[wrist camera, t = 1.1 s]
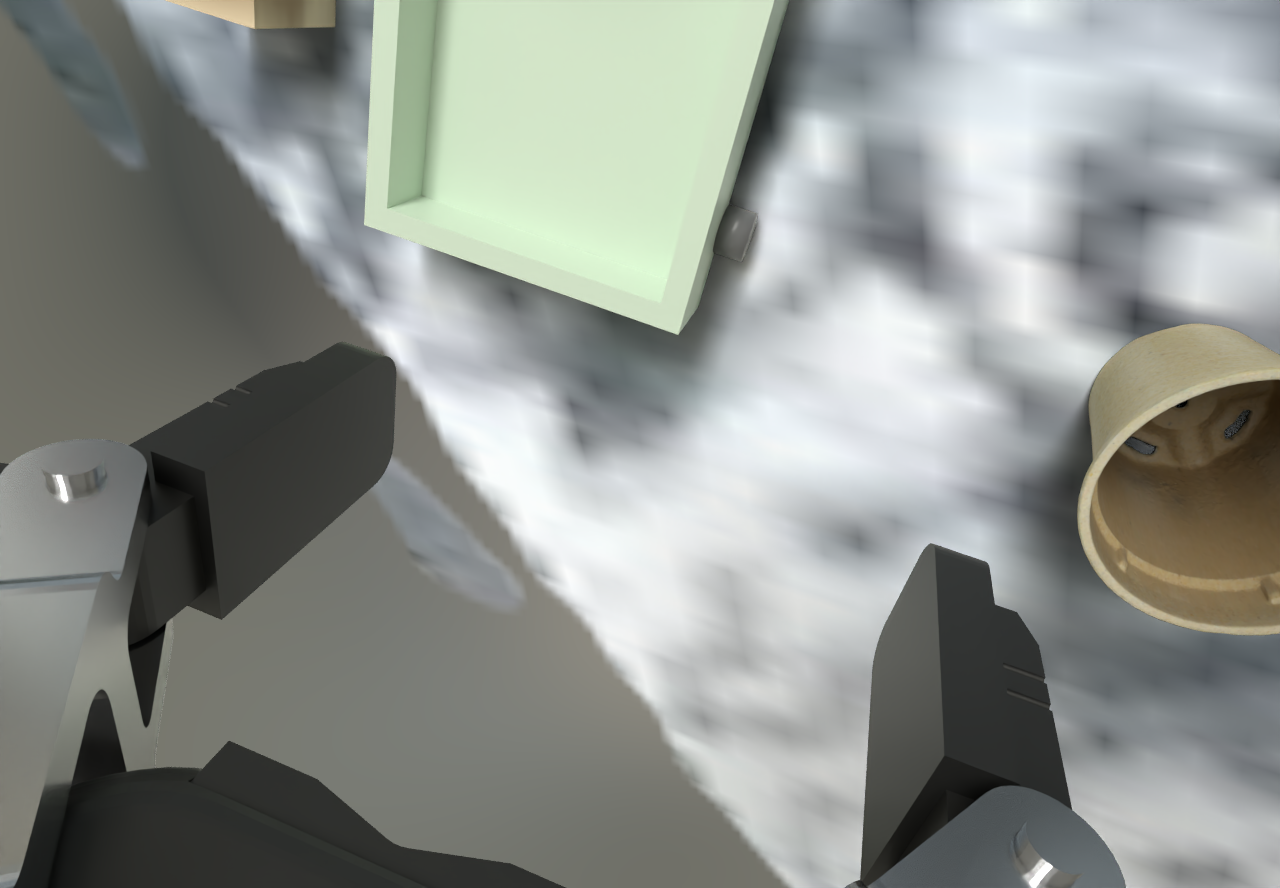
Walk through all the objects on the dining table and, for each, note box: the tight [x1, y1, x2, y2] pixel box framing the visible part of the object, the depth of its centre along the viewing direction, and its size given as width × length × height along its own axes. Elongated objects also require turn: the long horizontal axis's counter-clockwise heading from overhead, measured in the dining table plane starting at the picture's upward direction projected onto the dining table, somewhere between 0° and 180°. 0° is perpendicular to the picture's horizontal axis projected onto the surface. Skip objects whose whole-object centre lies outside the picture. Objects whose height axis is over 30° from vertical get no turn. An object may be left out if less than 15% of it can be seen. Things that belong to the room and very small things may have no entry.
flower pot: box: [1077, 324, 1280, 636], centre depth 27 cm, size 9×9×9 cm
